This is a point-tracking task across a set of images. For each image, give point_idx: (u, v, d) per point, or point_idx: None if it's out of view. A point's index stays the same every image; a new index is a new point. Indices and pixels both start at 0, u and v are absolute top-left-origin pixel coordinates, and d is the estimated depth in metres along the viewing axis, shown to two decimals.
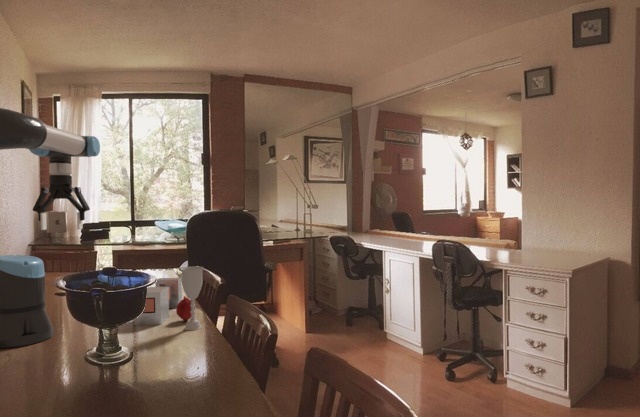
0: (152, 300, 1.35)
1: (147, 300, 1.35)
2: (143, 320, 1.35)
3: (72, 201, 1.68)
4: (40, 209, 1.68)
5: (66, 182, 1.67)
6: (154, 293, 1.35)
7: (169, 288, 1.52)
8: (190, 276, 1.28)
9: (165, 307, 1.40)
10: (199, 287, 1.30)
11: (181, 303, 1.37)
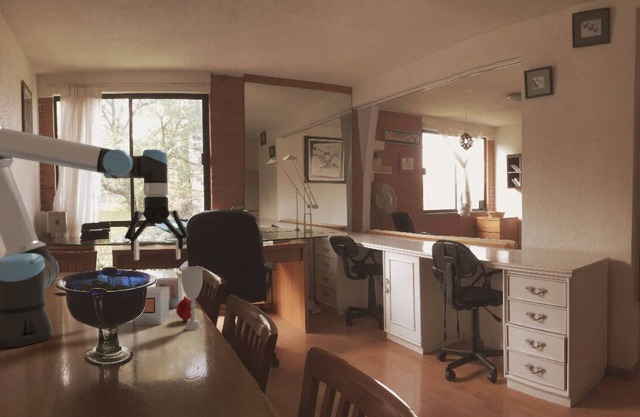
0: (152, 300, 1.35)
1: (147, 300, 1.35)
2: (143, 320, 1.35)
3: (170, 227, 1.45)
4: (133, 236, 1.44)
5: (164, 205, 1.44)
6: (154, 293, 1.35)
7: (169, 288, 1.52)
8: (190, 276, 1.28)
9: (165, 307, 1.40)
10: (199, 287, 1.30)
11: (181, 303, 1.37)
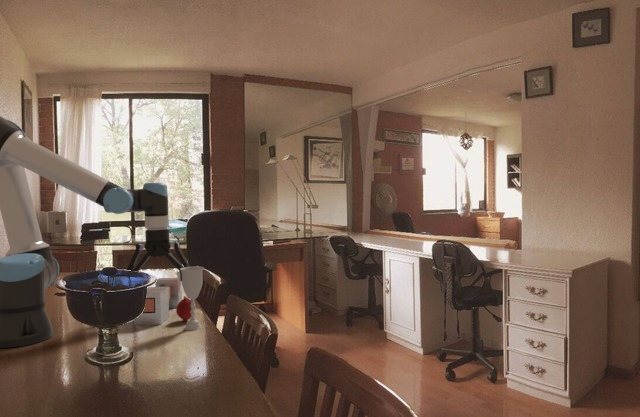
0: (152, 300, 1.35)
1: (147, 300, 1.35)
2: (143, 320, 1.35)
3: (172, 259, 1.45)
4: (135, 270, 1.44)
5: (165, 238, 1.44)
6: (154, 293, 1.35)
7: (169, 288, 1.52)
8: (190, 276, 1.28)
9: (165, 307, 1.40)
10: (199, 287, 1.30)
11: (181, 303, 1.37)
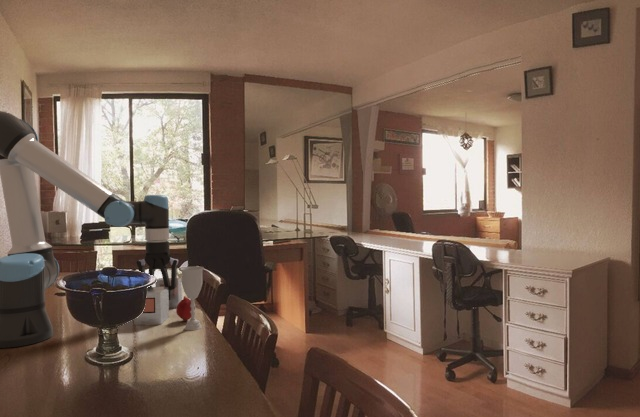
0: (152, 300, 1.35)
1: (147, 300, 1.35)
2: (143, 320, 1.35)
3: (164, 276, 1.45)
4: None
5: (165, 250, 1.44)
6: (154, 293, 1.35)
7: None
8: (190, 276, 1.28)
9: (165, 307, 1.40)
10: (199, 287, 1.30)
11: (181, 303, 1.37)
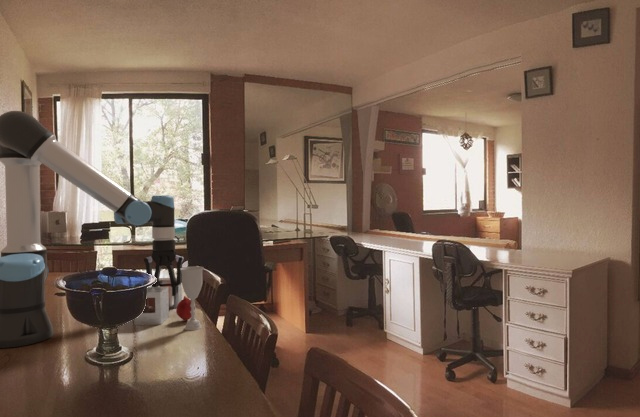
0: None
1: None
2: (143, 320, 1.35)
3: (170, 272, 1.52)
4: None
5: (171, 248, 1.51)
6: (154, 293, 1.35)
7: None
8: (190, 276, 1.28)
9: (165, 307, 1.40)
10: (199, 287, 1.30)
11: (181, 303, 1.37)
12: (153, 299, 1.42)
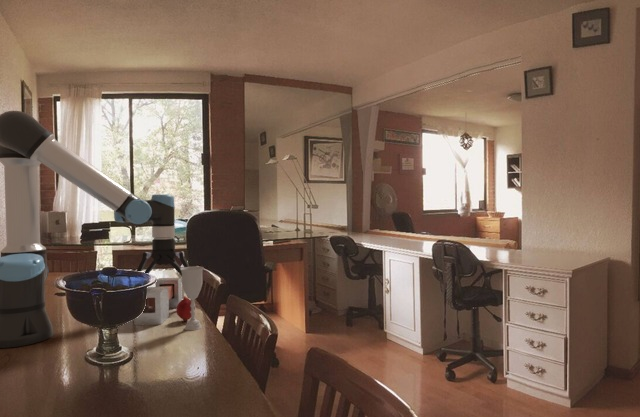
0: None
1: None
2: (143, 320, 1.35)
3: (176, 268, 1.52)
4: None
5: (171, 247, 1.51)
6: (154, 293, 1.35)
7: None
8: (190, 276, 1.28)
9: (165, 307, 1.40)
10: (199, 287, 1.30)
11: (181, 303, 1.37)
12: (153, 299, 1.42)
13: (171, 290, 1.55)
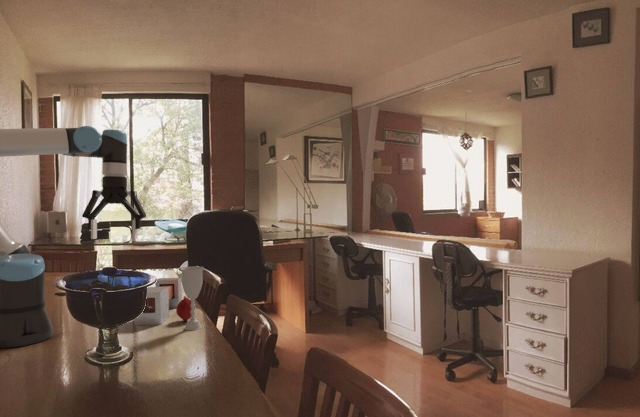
0: None
1: None
2: (143, 320, 1.35)
3: (127, 207, 1.47)
4: (91, 215, 1.46)
5: (121, 185, 1.46)
6: (154, 293, 1.35)
7: None
8: (190, 276, 1.28)
9: (165, 307, 1.40)
10: (199, 287, 1.30)
11: (181, 303, 1.37)
12: (153, 299, 1.42)
13: (171, 290, 1.55)
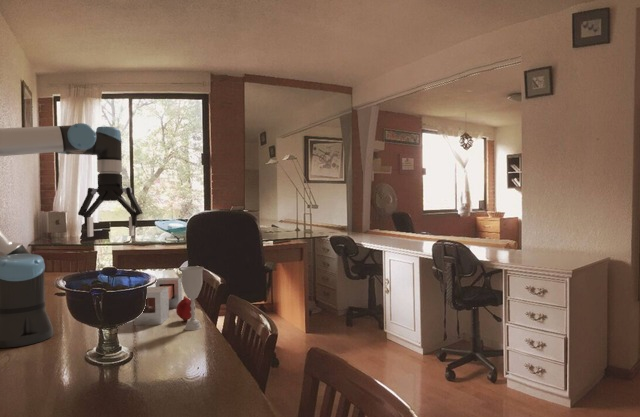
0: None
1: None
2: (143, 320, 1.35)
3: (123, 204, 1.46)
4: (87, 213, 1.45)
5: (117, 182, 1.45)
6: (154, 293, 1.35)
7: None
8: (190, 276, 1.28)
9: (165, 307, 1.40)
10: (199, 287, 1.30)
11: (181, 303, 1.37)
12: (153, 299, 1.42)
13: (171, 290, 1.55)
